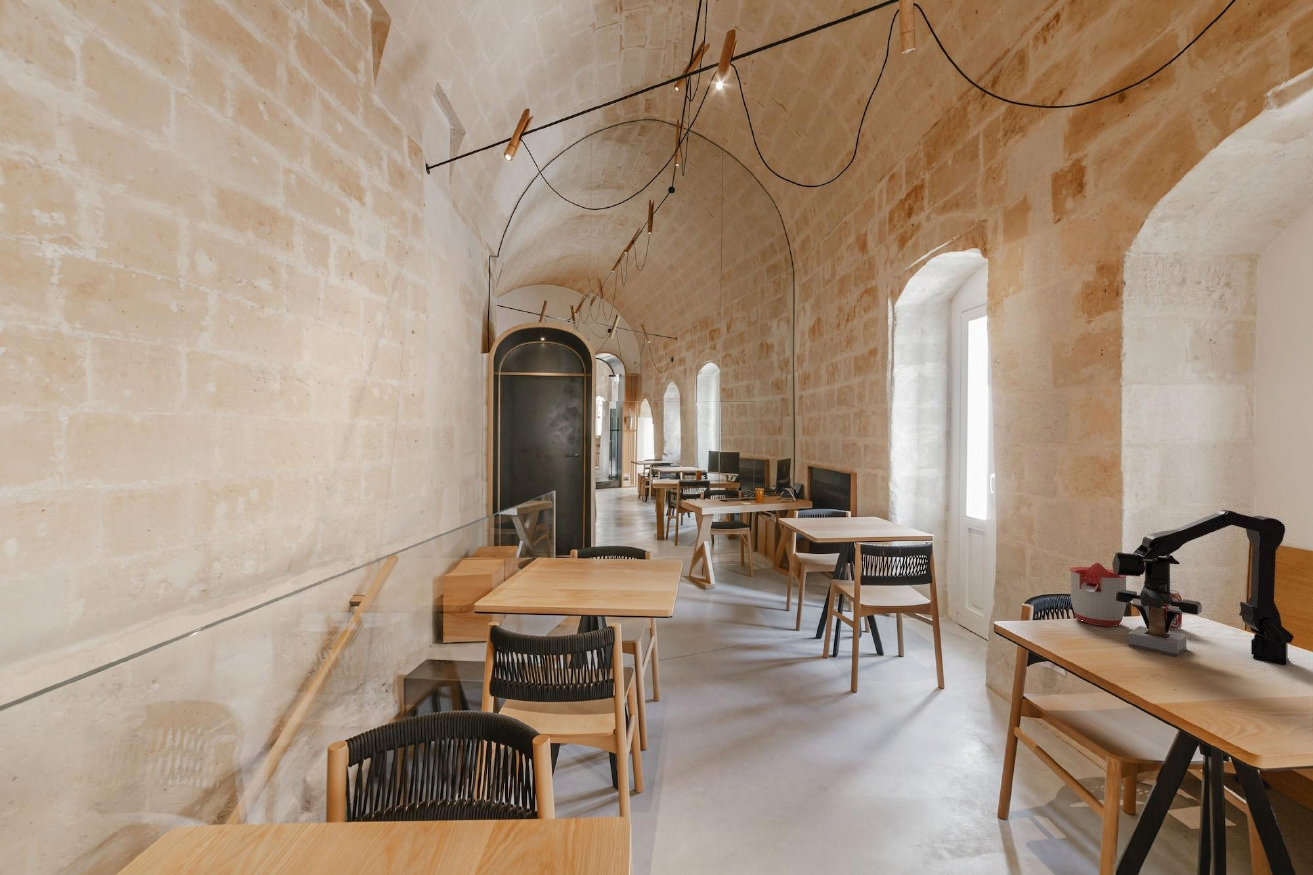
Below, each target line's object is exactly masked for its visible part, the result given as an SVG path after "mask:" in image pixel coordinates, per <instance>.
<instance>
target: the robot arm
mask: <svg viewBox="0 0 1313 875" xmlns="http://www.w3.org/2000/svg"><path fill="white" fill-rule="evenodd" d="M1229 526H1235V527H1238V528H1242V529H1245V532H1246V537H1247V539H1248V541H1249V544H1250V546H1251V547H1252V551H1251V574H1250V576H1251V578H1250V597H1249V599H1248V600H1247V601H1240V603H1239V607H1240V612H1239V614H1238V616H1241V619H1242V621H1243V622H1242V623H1244V624H1246V625H1247V626H1248V627H1249V629H1250V631H1251V632H1252V633H1254V635H1253V638H1252V639H1251V640H1250V641H1251V642H1250V643H1251V645H1250V646H1251V647H1250V651H1251V652H1250V654H1251V655H1252V659H1255V660H1260V661H1265V662H1270V663H1274V664H1279V665H1285V666H1286V665H1288V663H1289V661H1290V658H1289V657H1288V656H1289V655H1288V654H1289V652H1288V646H1289V645H1288V644H1292V641H1293V640H1294V638H1295V636H1294V634H1292V633H1291V632H1290V631H1289V630H1287V628H1285V627H1284V626H1283V623H1282V619H1281V614H1280V611H1279V609H1278V607H1277V605H1276V602H1275V586H1276V585H1275V584H1276V563H1277V561H1276V559H1277V550H1278V549H1279V547H1280V546H1281V544H1282V542H1283V540H1284V538H1285V537H1284V536H1285V534H1286V526H1285V524H1284V523H1283V522H1281V520H1279V519H1276V518H1273V517H1268V516H1262V515H1254V516H1250V515H1245V514H1242V513H1237V512H1236V511H1234V510H1229V509H1220V510H1218V511H1217V512H1215V513H1212V514H1210V515H1208V516H1204V517H1202V518H1200V519H1198V520H1197V519H1196V520H1195V521H1193V522H1192V521H1191V522H1190V523H1187V524H1185V525H1182V526H1180V527H1177V528H1175V529H1170V530H1164V531H1158V532H1153V533H1150V534H1149V533H1148V534H1146V535H1145V536H1143V538H1142V541H1141V544H1140V545H1139V546H1138V547H1136V549H1135V550H1134V551H1133V552H1132V553H1130V552H1129V553H1128V552H1127V553H1126V552H1122V551H1121V552H1120V551H1116V552H1114V553H1115V555H1114V557H1113V561H1112V570H1113V571H1114V573H1115V575H1124V576H1127V577H1141V575H1144V584H1143V588H1142V589H1141V591H1140V593H1139V594H1138V592H1137V591H1136V590H1135V591H1134V590H1129V589H1126V590H1121V591H1119V592H1117V593H1116V601H1120V602H1125V603H1126V604H1129V603H1131V602H1132V603H1131V606H1132V607H1134V608H1136V609H1137V610H1138V611H1139V613H1140V616H1141V618H1142V619H1143V622H1144V625H1145V627H1147V629H1149V606H1151V607H1155V608H1162V606H1169V608H1170V609H1169V610H1167V620H1166V627H1165V629H1166V633H1168V632H1170V631H1171V630H1170V627H1171V625H1172V623H1173V621H1174V619H1175V618H1176V616H1177V615H1178V614H1179V615H1180V614H1182V615H1183V614H1189V615H1196V616H1197V615H1199V614H1201V613H1202V611H1203V607H1202V606H1203V605H1202V603H1201V602H1200V601H1197V600H1191V599H1182V601H1180V602H1178V601H1172V594H1171V592H1170V590H1171V565H1180V562H1179V561H1178V560H1177V559H1175V558H1174V556H1173V555H1172V554H1173V553H1174V552H1176V551H1178V550H1179V549H1180V548H1182V546H1183V545H1185V544H1187V543H1188V542H1189V543H1190V542H1191V541H1193V540H1196V539H1199V538H1201V537H1205V536H1206V535H1209V534H1212V533H1214V532H1216V531H1219V530H1221V529H1222V530H1223V529H1224V528H1226V527H1229ZM1287 662H1288V663H1287Z"/></svg>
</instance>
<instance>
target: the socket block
mask: <svg viewBox="0 0 1313 875" xmlns="http://www.w3.org/2000/svg"><path fill="white" fill-rule="evenodd" d="M1128 647H1129V648H1133V649H1139V650H1143V651H1148V652H1151V653H1156V654H1160V655H1166V656H1170V657H1174V658H1179V656H1180V655H1182V653H1184V652H1185V651H1186V650H1187V634H1183V633H1182V634H1181V633H1177V632H1171V631H1169V632H1168V633H1167V638H1163V637H1158V636H1153V635H1149V629H1147V627H1146V626H1141V625H1139V626H1137V627H1136V628H1134V629H1132V630H1131V631H1130V632H1128Z"/></svg>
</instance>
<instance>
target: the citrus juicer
mask: <svg viewBox="0 0 1313 875" xmlns="http://www.w3.org/2000/svg"><path fill="white" fill-rule="evenodd" d="M1069 571H1070V602H1071V606H1072V609H1073V613H1074V616H1075V618H1076V619H1077V620H1078V621H1080V620H1083V621H1082V623H1087V624H1090V625H1096V626H1102V627H1103V628H1104V627H1105V628H1110V627H1117V626H1120V624H1121V622H1122V621H1123V619H1124V618H1123V617H1124V614H1125V613H1126V612H1125V611H1126V608H1127V603H1125V602H1120V601H1116V593H1117V592H1119V591H1121V590H1127V577H1128V576H1124V575H1115V573H1114V571H1113V569H1108V568H1105V567H1104V566H1103V565H1102V564H1101V563H1099V562H1095V563H1093V564H1092V565H1091V566H1090V567H1089V566H1088V567H1087V566H1074V567H1070V568H1069Z"/></svg>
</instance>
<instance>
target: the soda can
mask: <svg viewBox="0 0 1313 875" xmlns="http://www.w3.org/2000/svg"><path fill="white" fill-rule="evenodd" d="M1170 592H1171V594H1172V601H1178V602H1180V601H1182V600H1183V599H1182V596H1181V595H1180V592H1179V591H1178V590H1174V589H1170ZM1162 607H1165V608H1166V620H1167V610H1169V609H1170V608H1169V606H1162ZM1182 625H1183V613H1182V614H1180V615H1179V614H1178V615H1177V616H1176V618H1175V619H1174V621H1173V623H1172V625H1171V627H1170V630H1169V631H1178V630H1179V629H1182Z"/></svg>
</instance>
